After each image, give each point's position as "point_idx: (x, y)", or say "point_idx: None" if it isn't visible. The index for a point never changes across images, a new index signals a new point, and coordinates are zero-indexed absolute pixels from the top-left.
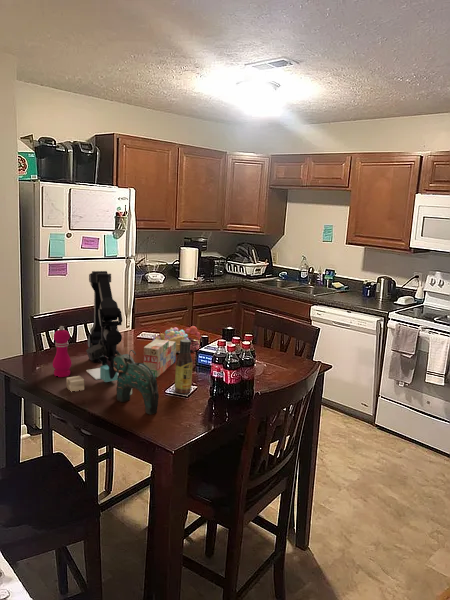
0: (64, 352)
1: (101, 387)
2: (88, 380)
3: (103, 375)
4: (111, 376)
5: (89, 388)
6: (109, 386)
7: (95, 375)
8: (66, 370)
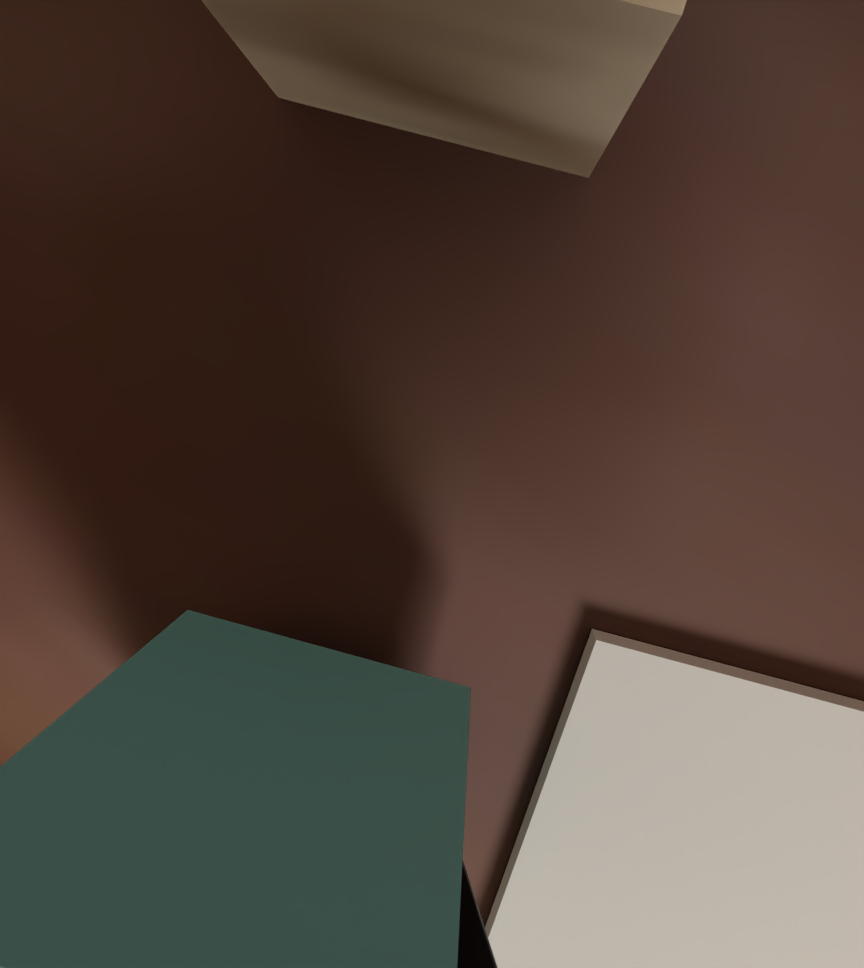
0: None
1: (182, 468)
2: (684, 502)
3: (225, 721)
4: None
5: (275, 243)
6: (144, 602)
7: (766, 747)
8: None
